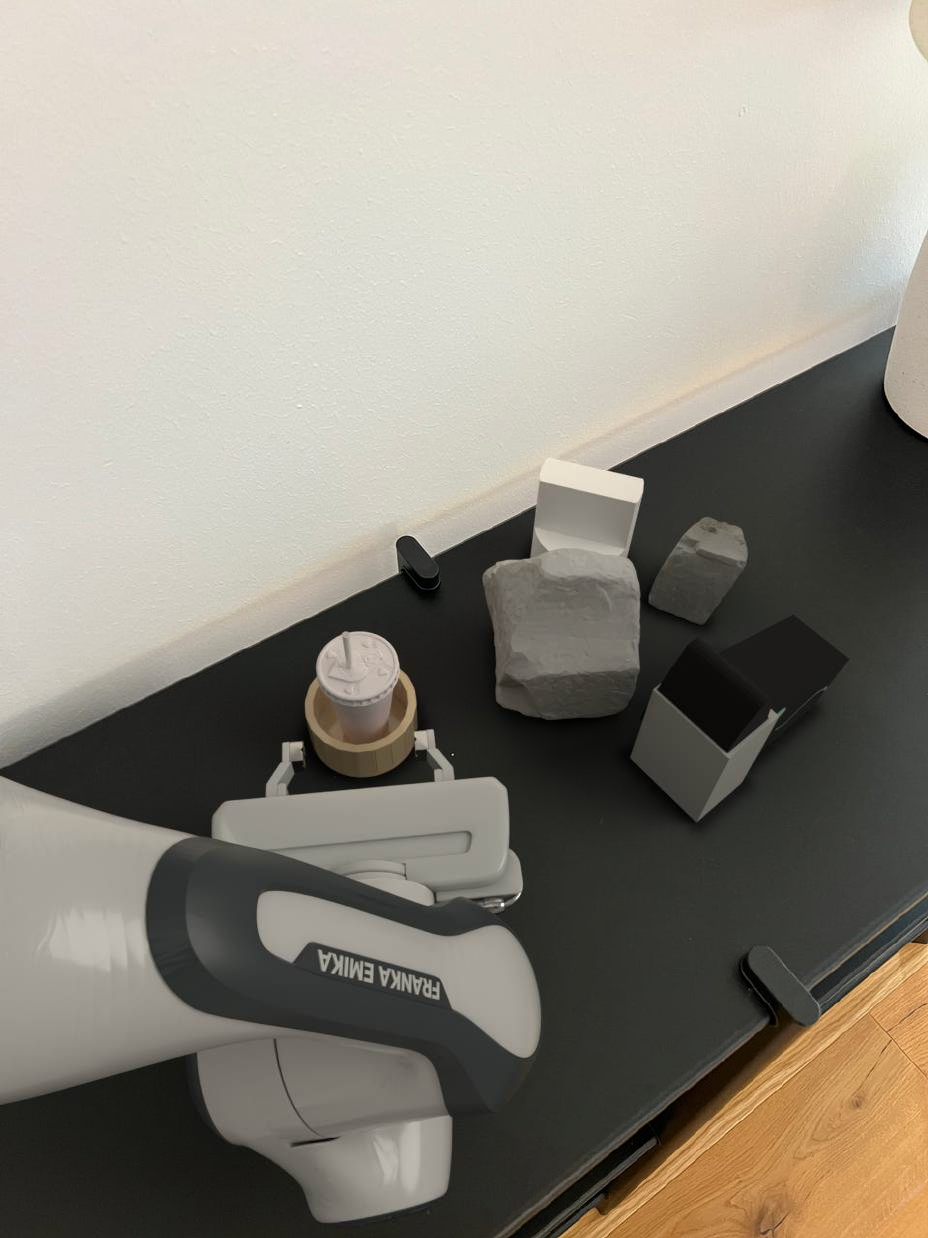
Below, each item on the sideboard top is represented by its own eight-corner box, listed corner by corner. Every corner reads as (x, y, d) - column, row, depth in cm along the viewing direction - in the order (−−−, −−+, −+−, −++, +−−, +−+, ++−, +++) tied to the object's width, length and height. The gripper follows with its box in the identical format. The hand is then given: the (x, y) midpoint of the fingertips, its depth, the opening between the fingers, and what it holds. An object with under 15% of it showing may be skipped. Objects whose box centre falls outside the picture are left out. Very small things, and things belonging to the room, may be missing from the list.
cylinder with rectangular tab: (518, 591, 90) (527, 504, 80) (542, 523, 95) (553, 434, 85) (612, 614, 88) (632, 529, 79) (631, 544, 93) (652, 456, 84)
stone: (494, 734, 81) (503, 632, 69) (479, 617, 88) (485, 506, 76) (628, 723, 82) (661, 621, 69) (603, 609, 89) (628, 498, 77)
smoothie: (316, 712, 81) (295, 616, 70) (384, 683, 83) (375, 585, 72) (346, 773, 78) (329, 682, 66) (416, 741, 80) (411, 647, 68)
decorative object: (835, 700, 83) (902, 596, 71) (696, 822, 76) (744, 730, 64) (763, 640, 87) (815, 532, 75) (624, 752, 80) (656, 653, 68)
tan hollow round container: (298, 768, 79) (291, 742, 75) (326, 677, 84) (321, 649, 80) (405, 785, 78) (403, 760, 74) (426, 693, 83) (425, 665, 79)
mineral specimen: (741, 631, 87) (744, 575, 80) (647, 619, 90) (642, 564, 83) (752, 569, 91) (756, 511, 84) (661, 560, 94) (658, 503, 87)
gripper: (531, 894, 59) (502, 704, 67) (200, 928, 58) (210, 730, 66) (524, 927, 65) (498, 747, 73) (219, 959, 63) (227, 771, 71)
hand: (359, 739), depth 69 cm, fingers open, 8 cm apart
